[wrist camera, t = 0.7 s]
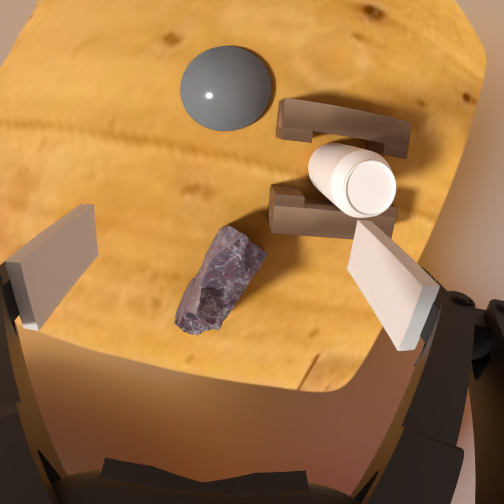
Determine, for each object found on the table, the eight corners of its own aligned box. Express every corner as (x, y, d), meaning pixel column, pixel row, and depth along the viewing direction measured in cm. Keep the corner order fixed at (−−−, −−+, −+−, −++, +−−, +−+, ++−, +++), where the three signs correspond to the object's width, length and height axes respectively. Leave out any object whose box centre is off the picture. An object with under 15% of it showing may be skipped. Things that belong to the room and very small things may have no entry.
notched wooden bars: (279, 101, 33) (285, 97, 28) (391, 121, 34) (411, 122, 30) (267, 219, 38) (271, 233, 34) (374, 228, 40) (390, 242, 35)
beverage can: (298, 151, 36) (327, 166, 24) (346, 134, 35) (392, 143, 24) (316, 200, 38) (348, 234, 27) (362, 182, 37) (409, 210, 26)
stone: (235, 242, 29) (153, 349, 32) (288, 277, 31) (201, 373, 35) (229, 209, 38) (164, 298, 42) (269, 237, 40) (202, 320, 44)
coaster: (185, 45, 30) (184, 44, 29) (274, 51, 31) (275, 50, 30) (178, 129, 34) (177, 129, 33) (266, 134, 35) (267, 134, 34)
